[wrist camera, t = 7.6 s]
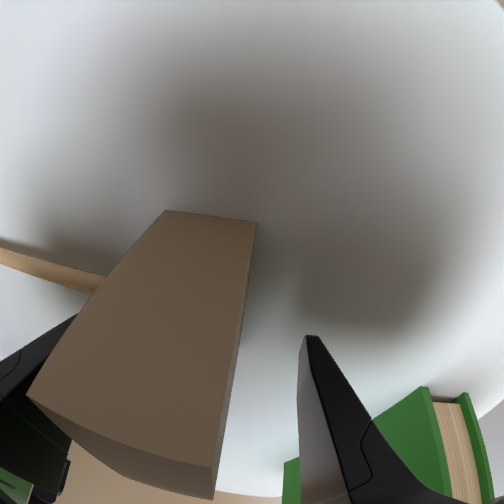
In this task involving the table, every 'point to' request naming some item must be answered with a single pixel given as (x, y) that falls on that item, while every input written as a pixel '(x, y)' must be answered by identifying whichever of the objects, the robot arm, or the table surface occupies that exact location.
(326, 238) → the table surface
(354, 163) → the table surface
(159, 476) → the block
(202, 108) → the table surface
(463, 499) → the hardback book
